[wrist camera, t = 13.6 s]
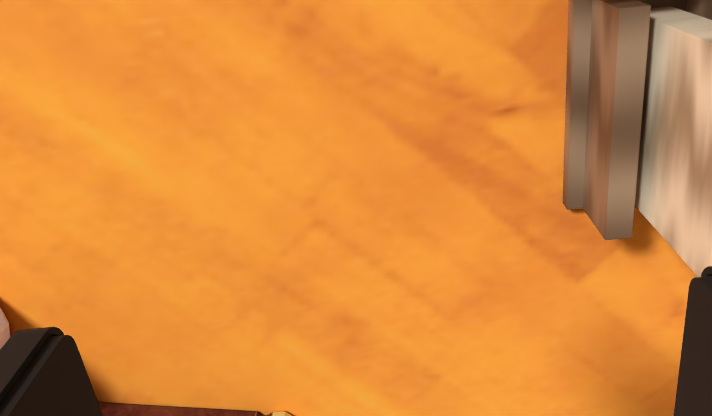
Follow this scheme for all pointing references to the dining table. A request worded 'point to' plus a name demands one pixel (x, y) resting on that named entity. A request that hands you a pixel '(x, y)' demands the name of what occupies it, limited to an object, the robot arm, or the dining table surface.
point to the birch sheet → (678, 134)
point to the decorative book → (172, 411)
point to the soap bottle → (4, 329)
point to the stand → (608, 106)
